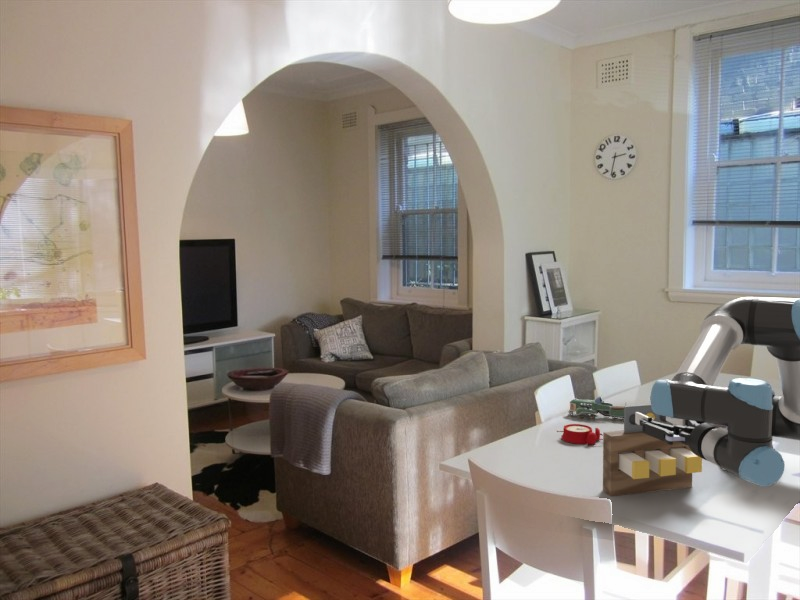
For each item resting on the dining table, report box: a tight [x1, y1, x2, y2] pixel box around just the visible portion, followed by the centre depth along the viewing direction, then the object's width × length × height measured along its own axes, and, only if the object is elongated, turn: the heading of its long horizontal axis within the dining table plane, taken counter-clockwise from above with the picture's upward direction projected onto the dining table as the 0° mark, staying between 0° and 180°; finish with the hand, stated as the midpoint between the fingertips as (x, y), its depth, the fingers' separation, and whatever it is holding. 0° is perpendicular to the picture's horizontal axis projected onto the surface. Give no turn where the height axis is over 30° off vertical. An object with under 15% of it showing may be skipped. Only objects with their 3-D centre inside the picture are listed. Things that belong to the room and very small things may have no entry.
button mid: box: [644, 449, 676, 476], centre depth 173 cm, size 9×4×4 cm, turn 12°
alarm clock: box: [556, 423, 603, 446], centre depth 220 cm, size 10×6×15 cm
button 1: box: [618, 451, 649, 479], centre depth 171 cm, size 9×4×4 cm, turn 12°
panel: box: [602, 425, 693, 497], centre depth 177 cm, size 4×24×16 cm, turn 102°
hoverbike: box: [568, 396, 627, 422], centre depth 245 cm, size 10×25×8 cm, turn 64°
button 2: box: [669, 447, 703, 474], centre depth 174 cm, size 9×4×4 cm, turn 12°
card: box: [623, 403, 674, 433], centre depth 176 cm, size 1×14×7 cm, turn 102°
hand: (652, 416), depth 161 cm, fingers open, 8 cm apart
